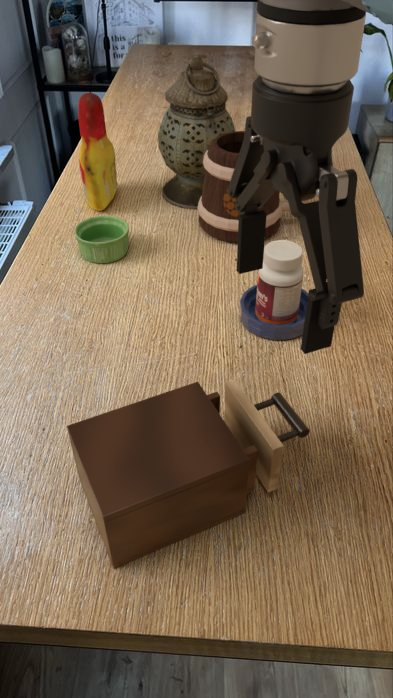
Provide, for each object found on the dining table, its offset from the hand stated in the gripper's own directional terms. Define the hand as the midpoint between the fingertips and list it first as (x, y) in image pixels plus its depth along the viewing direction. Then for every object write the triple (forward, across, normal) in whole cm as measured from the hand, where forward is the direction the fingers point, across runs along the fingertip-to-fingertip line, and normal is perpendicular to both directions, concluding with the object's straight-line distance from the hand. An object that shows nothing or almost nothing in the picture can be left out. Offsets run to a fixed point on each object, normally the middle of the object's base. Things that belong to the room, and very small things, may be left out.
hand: (279, 305), depth 58 cm
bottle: (+18, -63, -3) cm, 66 cm away
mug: (+19, -44, +20) cm, 52 cm away
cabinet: (+19, +4, -15) cm, 24 cm away
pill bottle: (+18, -19, +11) cm, 28 cm away
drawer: (+18, +3, -8) cm, 20 cm away
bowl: (+18, -19, +11) cm, 28 cm away
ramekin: (+19, -46, -7) cm, 50 cm away
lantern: (+18, -59, +15) cm, 64 cm away
